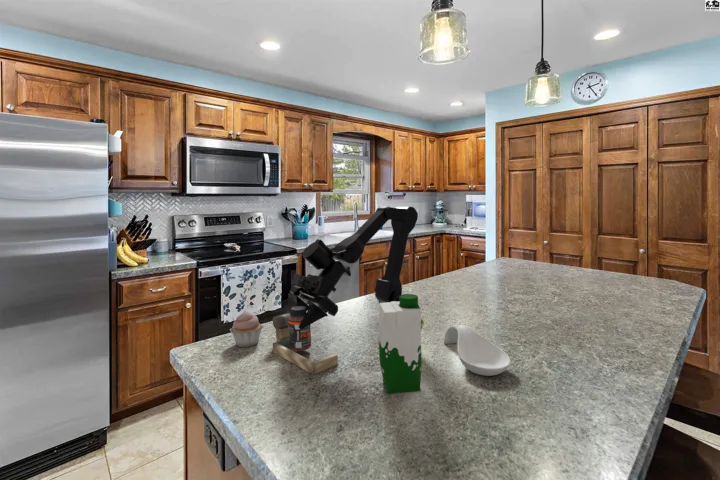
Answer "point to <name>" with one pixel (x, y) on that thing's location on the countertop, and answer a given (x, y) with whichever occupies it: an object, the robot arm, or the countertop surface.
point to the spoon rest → (477, 351)
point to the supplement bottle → (298, 330)
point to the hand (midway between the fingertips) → (294, 325)
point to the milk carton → (400, 344)
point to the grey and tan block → (281, 326)
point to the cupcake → (246, 329)
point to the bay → (303, 358)
